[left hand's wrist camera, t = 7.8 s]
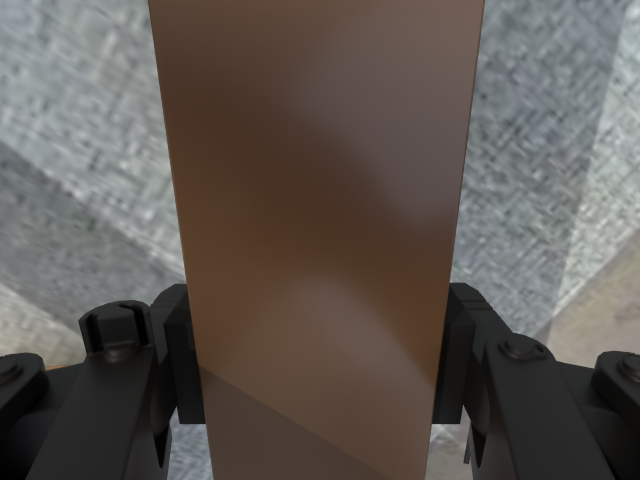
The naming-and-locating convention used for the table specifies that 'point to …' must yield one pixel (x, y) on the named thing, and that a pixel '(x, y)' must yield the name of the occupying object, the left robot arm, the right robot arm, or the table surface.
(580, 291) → the table surface
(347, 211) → the post
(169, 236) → the table surface
